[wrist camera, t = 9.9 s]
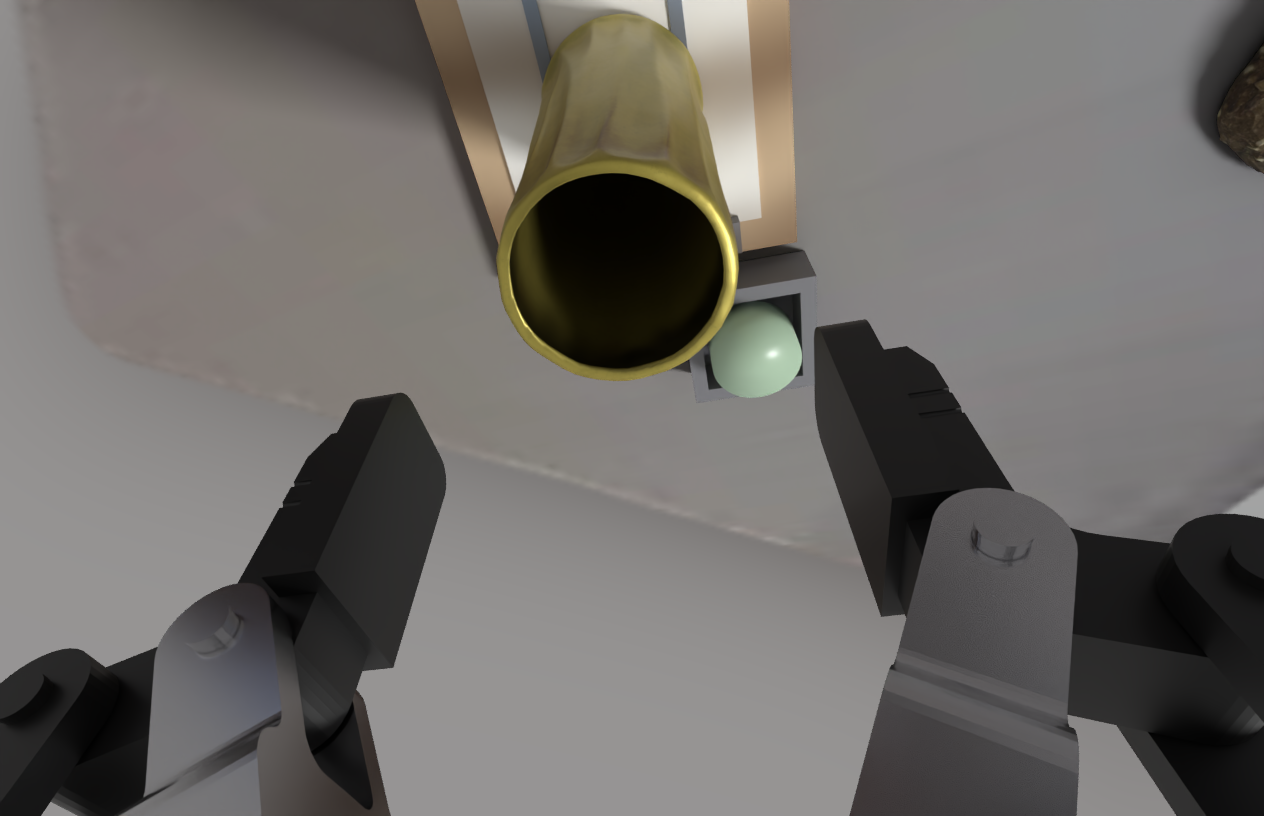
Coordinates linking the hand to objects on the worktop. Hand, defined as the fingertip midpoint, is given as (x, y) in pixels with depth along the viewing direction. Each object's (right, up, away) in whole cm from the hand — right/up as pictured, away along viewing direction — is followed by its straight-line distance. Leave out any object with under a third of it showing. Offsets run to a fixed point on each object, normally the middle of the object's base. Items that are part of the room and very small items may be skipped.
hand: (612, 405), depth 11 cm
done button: (+6, +3, +20) cm, 21 cm away
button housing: (+6, +5, +22) cm, 23 cm away
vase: (0, +12, +14) cm, 19 cm away
